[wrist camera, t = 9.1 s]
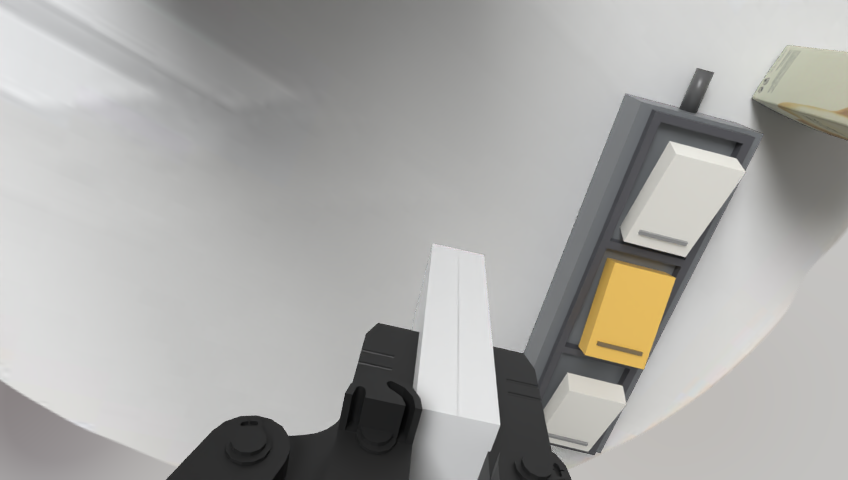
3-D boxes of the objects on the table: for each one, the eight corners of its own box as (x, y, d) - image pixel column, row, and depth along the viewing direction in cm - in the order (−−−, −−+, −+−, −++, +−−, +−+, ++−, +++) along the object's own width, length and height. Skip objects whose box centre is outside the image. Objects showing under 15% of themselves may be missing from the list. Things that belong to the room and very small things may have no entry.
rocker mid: (607, 257, 42) (615, 263, 40) (665, 272, 42) (677, 278, 40) (578, 346, 43) (585, 355, 41) (634, 360, 43) (644, 370, 41)
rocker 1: (567, 372, 44) (569, 392, 42) (622, 385, 44) (626, 406, 42) (535, 421, 49) (536, 441, 47) (585, 433, 49) (588, 453, 47)
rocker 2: (669, 140, 36) (677, 155, 34) (736, 158, 36) (747, 173, 34) (619, 226, 41) (624, 243, 39) (679, 242, 41) (686, 258, 39)
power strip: (641, 53, 39) (663, 58, 35) (755, 84, 40) (792, 93, 35) (504, 401, 53) (508, 437, 48) (590, 422, 53) (602, 459, 49)
